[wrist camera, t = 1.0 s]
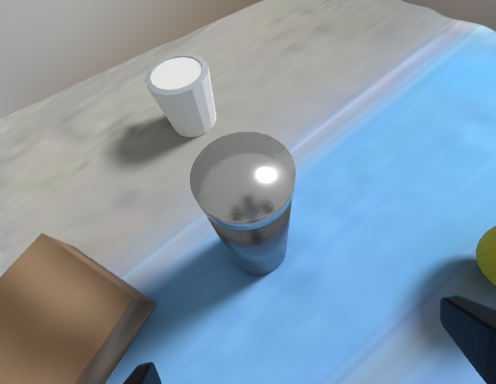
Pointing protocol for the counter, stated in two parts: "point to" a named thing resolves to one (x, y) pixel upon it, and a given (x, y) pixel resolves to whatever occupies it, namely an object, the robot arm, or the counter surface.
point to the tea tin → (247, 197)
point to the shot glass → (183, 93)
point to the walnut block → (64, 317)
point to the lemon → (487, 254)
